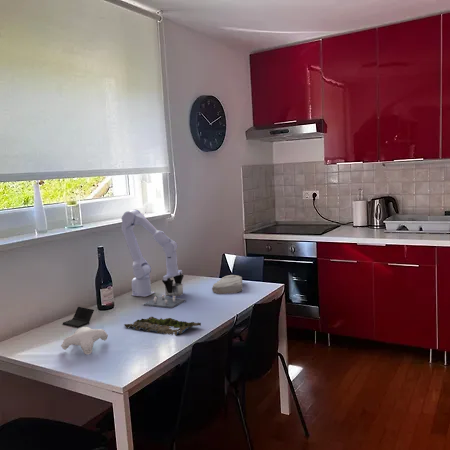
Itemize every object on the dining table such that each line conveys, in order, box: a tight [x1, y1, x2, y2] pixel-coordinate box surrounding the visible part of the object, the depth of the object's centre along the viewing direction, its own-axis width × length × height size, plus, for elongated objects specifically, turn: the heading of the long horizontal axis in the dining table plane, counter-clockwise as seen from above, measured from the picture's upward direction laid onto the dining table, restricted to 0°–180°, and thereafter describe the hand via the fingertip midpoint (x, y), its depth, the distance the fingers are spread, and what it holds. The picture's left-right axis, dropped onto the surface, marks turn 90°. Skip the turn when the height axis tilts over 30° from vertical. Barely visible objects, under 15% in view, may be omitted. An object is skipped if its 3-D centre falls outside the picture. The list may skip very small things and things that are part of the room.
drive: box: [164, 282, 184, 297], centre depth 239 cm, size 8×4×6 cm, turn 62°
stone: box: [211, 274, 243, 295], centre depth 245 cm, size 21×15×5 cm
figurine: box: [60, 326, 109, 356], centre depth 174 cm, size 17×9×18 cm
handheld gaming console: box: [62, 306, 95, 329], centre depth 205 cm, size 12×7×10 cm
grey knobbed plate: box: [143, 294, 187, 309], centre depth 225 cm, size 16×12×3 cm
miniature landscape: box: [123, 316, 202, 336], centre depth 191 cm, size 32×12×3 cm, turn 61°
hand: (174, 290), depth 239 cm, fingers open, 7 cm apart
